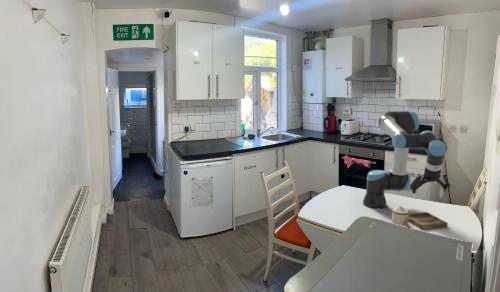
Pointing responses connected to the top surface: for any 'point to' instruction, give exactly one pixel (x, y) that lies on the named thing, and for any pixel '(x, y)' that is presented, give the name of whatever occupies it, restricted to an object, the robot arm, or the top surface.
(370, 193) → the robot arm
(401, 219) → the teacup with lid
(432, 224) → the tray
